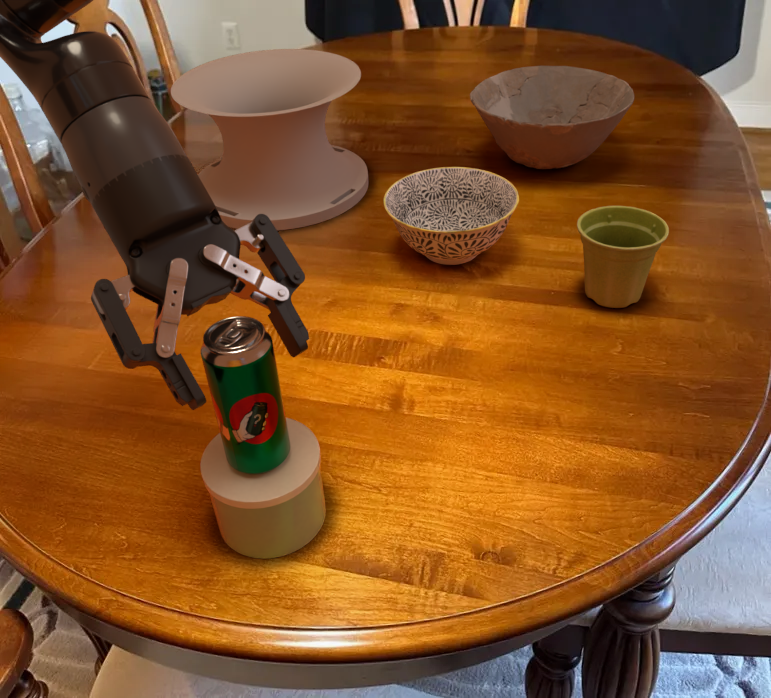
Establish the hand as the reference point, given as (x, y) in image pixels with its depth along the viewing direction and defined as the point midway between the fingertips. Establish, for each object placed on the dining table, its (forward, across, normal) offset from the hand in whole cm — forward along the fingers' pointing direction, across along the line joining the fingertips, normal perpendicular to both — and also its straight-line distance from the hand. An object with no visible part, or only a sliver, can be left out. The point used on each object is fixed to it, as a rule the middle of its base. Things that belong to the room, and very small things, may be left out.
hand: (252, 378), depth 57 cm
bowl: (-4, +40, +26) cm, 48 cm away
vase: (-25, +35, +47) cm, 64 cm away
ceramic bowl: (-10, +69, +32) cm, 77 cm away
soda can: (+5, 0, +7) cm, 9 cm away
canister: (+10, 0, +12) cm, 16 cm away
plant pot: (+10, +47, +12) cm, 49 cm away
